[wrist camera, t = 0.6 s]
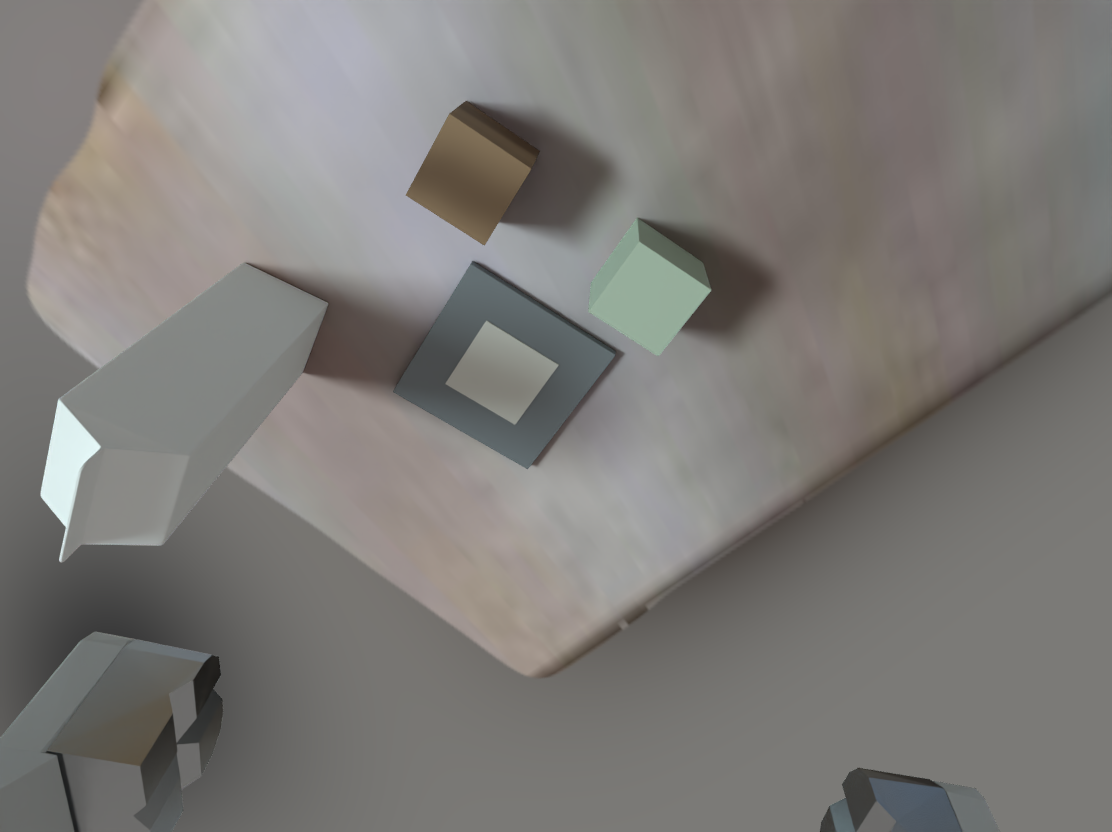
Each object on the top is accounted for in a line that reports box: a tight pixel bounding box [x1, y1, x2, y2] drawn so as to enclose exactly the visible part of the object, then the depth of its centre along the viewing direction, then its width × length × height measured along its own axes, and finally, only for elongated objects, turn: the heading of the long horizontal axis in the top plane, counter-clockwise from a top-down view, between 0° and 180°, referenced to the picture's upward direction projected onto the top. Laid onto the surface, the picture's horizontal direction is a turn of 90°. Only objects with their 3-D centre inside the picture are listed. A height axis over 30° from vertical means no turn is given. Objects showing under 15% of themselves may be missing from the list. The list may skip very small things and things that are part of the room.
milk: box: [41, 263, 328, 562], centre depth 42 cm, size 6×6×22 cm
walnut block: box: [406, 101, 540, 245], centre depth 43 cm, size 5×5×5 cm
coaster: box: [393, 261, 615, 469], centre depth 52 cm, size 11×11×1 cm
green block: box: [588, 218, 711, 356], centre depth 46 cm, size 5×5×5 cm
